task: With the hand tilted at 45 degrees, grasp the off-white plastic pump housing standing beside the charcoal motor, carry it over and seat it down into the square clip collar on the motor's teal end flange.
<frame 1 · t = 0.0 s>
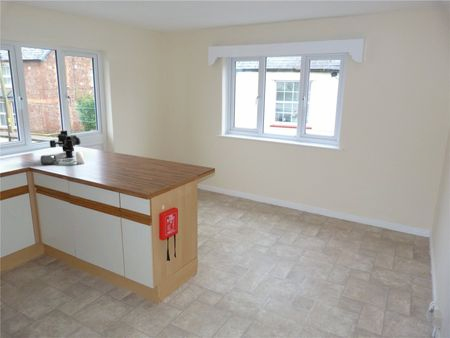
hand: (58, 145, 293), 16 cm above the counter, tool horizontal, fingers open, 9 cm apart
motor: (66, 163, 297), on the counter
pump: (80, 163, 296), on the counter
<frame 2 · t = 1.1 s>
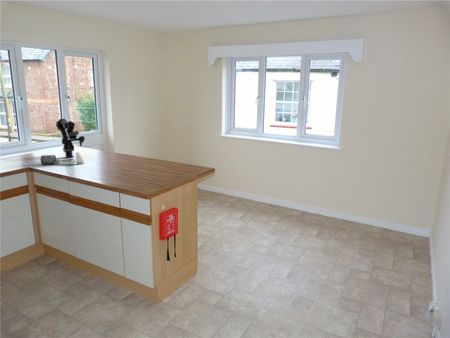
hand: (76, 147, 298), 14 cm above the counter, tool tilted 45°, fingers open, 9 cm apart
nothing on the counter moved.
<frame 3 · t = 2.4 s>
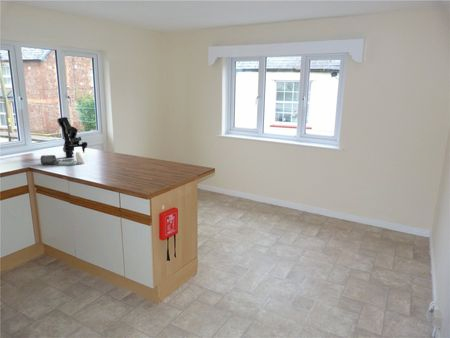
hand: (78, 153, 295), 9 cm above the counter, tool tilted 45°, fingers open, 9 cm apart
nothing on the counter moved.
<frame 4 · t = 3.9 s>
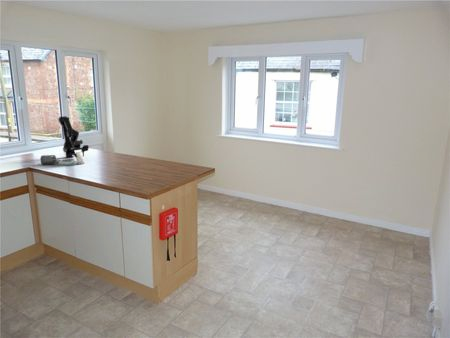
hand: (80, 156, 293), 7 cm above the counter, tool tilted 45°, fingers closed on pump, 5 cm apart
pump: (80, 163, 296), on the counter, touching gripper
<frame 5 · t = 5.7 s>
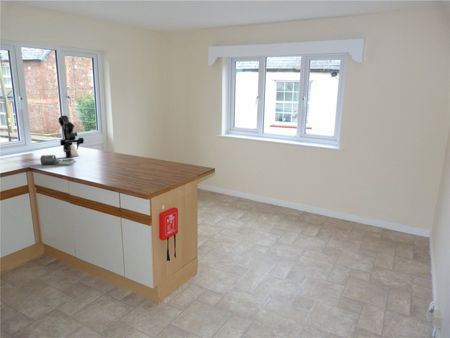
hand: (74, 149, 291), 13 cm above the counter, tool tilted 45°, fingers closed on pump, 5 cm apart
pump: (74, 156, 294), point 7 cm above the counter, touching gripper
when the fingers open (9 cm above the counter, at t = 7.9 s): pump drops 1 cm, resting on motor.
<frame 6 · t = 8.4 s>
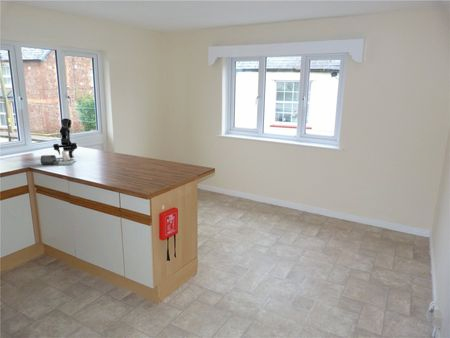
hand: (65, 154, 293), 9 cm above the counter, tool tilted 45°, fingers open, 9 cm apart
pump: (66, 162, 296), point 1 cm above the counter, touching motor
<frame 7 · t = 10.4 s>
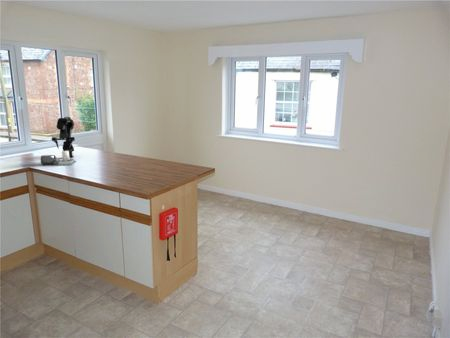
hand: (63, 148, 303), 12 cm above the counter, tool tilted 20°, fingers open, 9 cm apart
nothing on the counter moved.
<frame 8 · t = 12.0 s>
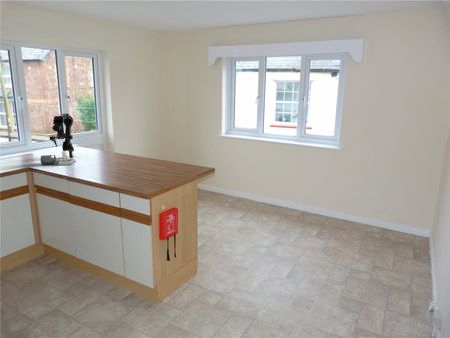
hand: (62, 146, 304), 13 cm above the counter, tool pointing down, fingers open, 9 cm apart
nothing on the counter moved.
at the end: pump 0.1 cm off-centre on the motor, point 1.0 cm above the motor's base; pump tilted 0°; the gripper is holding nothing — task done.
